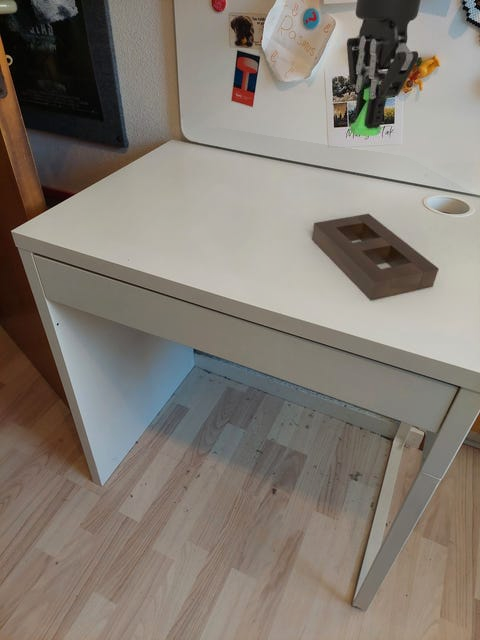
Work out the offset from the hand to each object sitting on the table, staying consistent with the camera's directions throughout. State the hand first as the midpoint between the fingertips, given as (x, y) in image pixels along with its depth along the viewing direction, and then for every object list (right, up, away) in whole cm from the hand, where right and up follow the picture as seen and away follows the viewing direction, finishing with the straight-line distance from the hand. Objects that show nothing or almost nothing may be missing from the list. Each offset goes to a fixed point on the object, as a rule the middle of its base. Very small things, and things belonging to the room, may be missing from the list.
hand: (366, 123), depth 65 cm
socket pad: (+1, -19, +4) cm, 20 cm away
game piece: (0, -1, +1) cm, 1 cm away
